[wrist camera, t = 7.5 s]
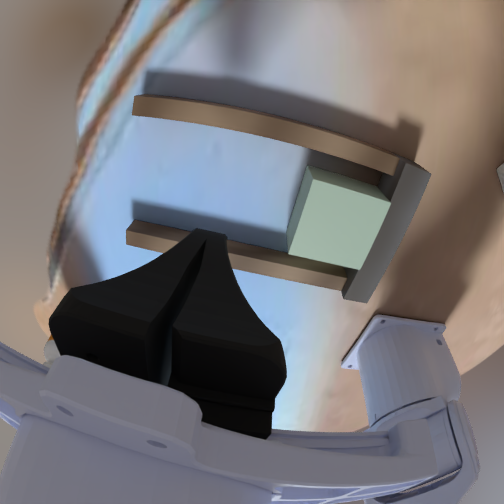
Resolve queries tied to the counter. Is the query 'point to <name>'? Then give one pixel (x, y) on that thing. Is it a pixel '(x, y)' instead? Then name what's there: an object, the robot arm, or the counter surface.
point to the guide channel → (295, 132)
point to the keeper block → (335, 218)
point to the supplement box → (501, 175)
